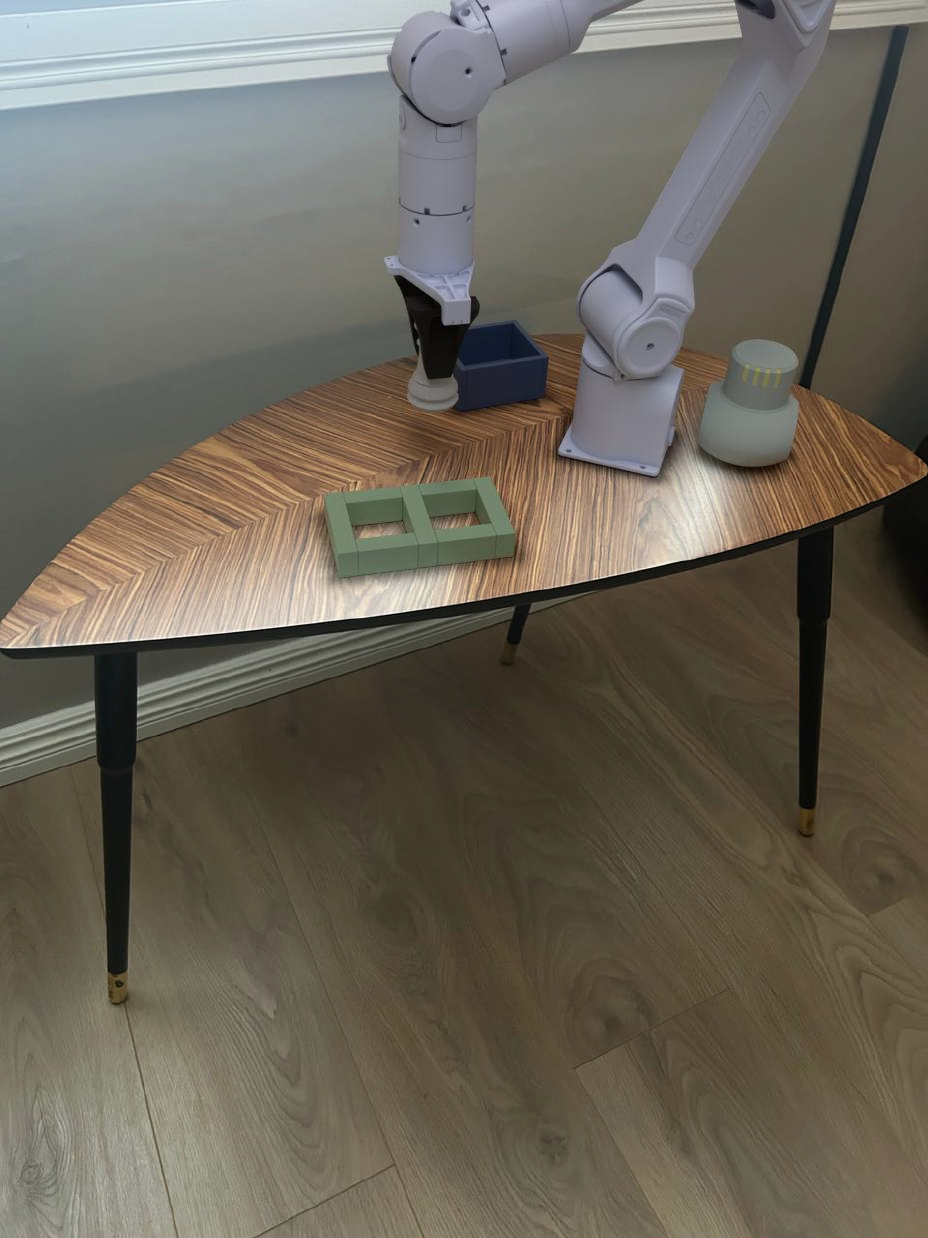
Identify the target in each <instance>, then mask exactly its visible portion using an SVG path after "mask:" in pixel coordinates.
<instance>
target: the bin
mask: <svg viewBox="0 0 928 1238" xmlns="http://www.w3.org/2000/svg"><path fill="white" fill-rule="evenodd" d="M549 359H550V356H548V354H547V353H546V352H545V350H543V348H541V346H540V345H539V344H538V343H537V342H536V340H535V339H534V338H533V337H532V336H531V335H530V333H528V332H527V331H526V329H525V328H524V327H523V326H522V324H521V323H520V322H519V321H518V320H517V319H511V320H505V321H504V320H503V321H498V322H491V323H483V324H477V325H470V327H469V329H468V330H467V332H466V334H465V337H464V339H463V341H462V344H461V347H460V351H459V354H458V358H457V361H456V365H455V368H454V371H453V377H454V378H455V380H456V381H457V384H458V391H457V393H458V401H457V402H456V403H455V404H454V406H455V407H456V409H457V410H458V411H459V412H466V411H472V410H479V409H484V408H489V407H496V406H502V405H508V404H514V403H519V402H520V403H521V402H526V401H531V400H536V399H544V398H545V396H546V388H547V378H548V369H549Z"/></svg>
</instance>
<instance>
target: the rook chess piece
mask: <svg viewBox="0 0 928 1238" xmlns="http://www.w3.org/2000/svg"><path fill="white" fill-rule="evenodd" d="M414 327H415V328H416V324H415V323H414ZM416 330H417V328H416ZM417 344H418V345H419V358H418V357H417V364H416V368H415V370H414V371H413V373H412V376H411V377H410V379H409V380H408V382H407V383H408V384H407V389H408V391H407V394H406V399H407V400H408V402H409V403H410V404H411V406H412V407H414V408H415V409H417V410H418V411H421V412H424V413H431V414H432V413H433V414H436V413H437V414H438V413H443V412H446V411H448V410H450V409H452V408H453V407H454V406H455V403H456V402H457V401H458V393H457V391H458V384H457V381H456V380H455V378H454V377H453V374H452V376H451V377H450V378H442V379H431V380H429V379H427V376H426V374H425V371H424V367H423V362H422V355H421V348H420V341H419V339H418V340H417Z"/></svg>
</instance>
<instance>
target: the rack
mask: <svg viewBox="0 0 928 1238" xmlns="http://www.w3.org/2000/svg"><path fill="white" fill-rule="evenodd" d="M323 504H324V505H323V506H324V507H323V508H324V519H325V523H326V527H327V532H328V537H329V540H330V544H331V545H330V546H331V549H332V553H333V558H334V563H335V567H336V571H337V575H338V578H339V579H341V578H348V577H349V578H350V577H357V576H366V575H373V574H382V573H390V572H396V571H406V570H413V569H421V568H428V567H429V568H430V567H436V566H446V565H453V564H454V565H455V564H462V563H472V562H480V561H487V560H494V559H495V560H496V559H502V558H503V559H504V558H510V557H511V558H512V557H514V555H515V554H514V553H515V542H516V530H515V528H514V526H513V524H512V522H511V520H510V517H509V515H508V513H507V511H506V508H505V506H504V504H503V501H502V500H501V497H500V494H499V493H498V491H497V487H496V486H495V483H494V481H493V479H492V476H482V477H474V478H472V477H471V478H463V479H453V480H444V481H436V482H426V483H418V484H417V483H416V484H415V483H414V484H406V485H395V486H386V487H378V488H368V489H367V488H366V489H360V490H359V489H357V490H350V491H349V490H348V491H339V492H330V493H323ZM469 513H476V516H477V518H478V521H479V523H480V524H475V525H473V524H472V525H467V526H458V527H450V528H449V527H448V528H439V529H434V527H433V524H432V521H431V519H430V518H435V517H444V516H452V515H453V516H454V515H461V514H463V515H464V514H469ZM400 521H402V522H403V525H404V527H405V531H406V533H396V534H388V535H379V536H370V537H362V538H355V534H354V530H353V527H357V526H365V525H374V524H383V523H392V522H400Z"/></svg>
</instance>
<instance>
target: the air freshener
mask: <svg viewBox="0 0 928 1238" xmlns="http://www.w3.org/2000/svg"><path fill="white" fill-rule="evenodd" d="M799 361H800V360H799V358H798V356H797V355H796V353H795V351H794V350H792V349H791V348H789V347H788V346H786V345H785V344H782V343H781V342H777V341H773V340H768V339H761V338H760V339H759V338H756V339H755V338H754V339H746V340H743V341H741V342H739V343H738V344H736V345H734V346H733V348H732V350H731V353H730V357H729V361H728V365H727V369H726V373H725V376H724V379H723V380H719V381H717V382H714V383H712V384H710V385H708V390H707V393H706V396H705V397H706V398H705V402H704V406H703V411H702V415H701V420H700V424H699V428H698V433H697V437H696V443H697V444H698V445H699V446H700V448H702V449H703V450H704V451H705V452H706V453H708V454H709V455H710V456H712V457H714V458H716V459H718V460H720V461H722V462H724V463H727V464H731V465H734V466H739V467H748V468H759V467H767V466H771V465H776V464H778V463H781V462H784V461H786V460H787V459H788V458H789V456H790V454H791V450H792V447H793V445H794V440H795V435H796V431H797V426H798V420H799V411H800V402H799V400H798V399H796V398H795V396H794V395H793V394H791V391H792V387H793V385H794V384H793V383H794V381H795V378H796V377H795V376H796V373H797V369H798V368H799V367H798V366H799V364H800V363H799Z"/></svg>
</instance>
